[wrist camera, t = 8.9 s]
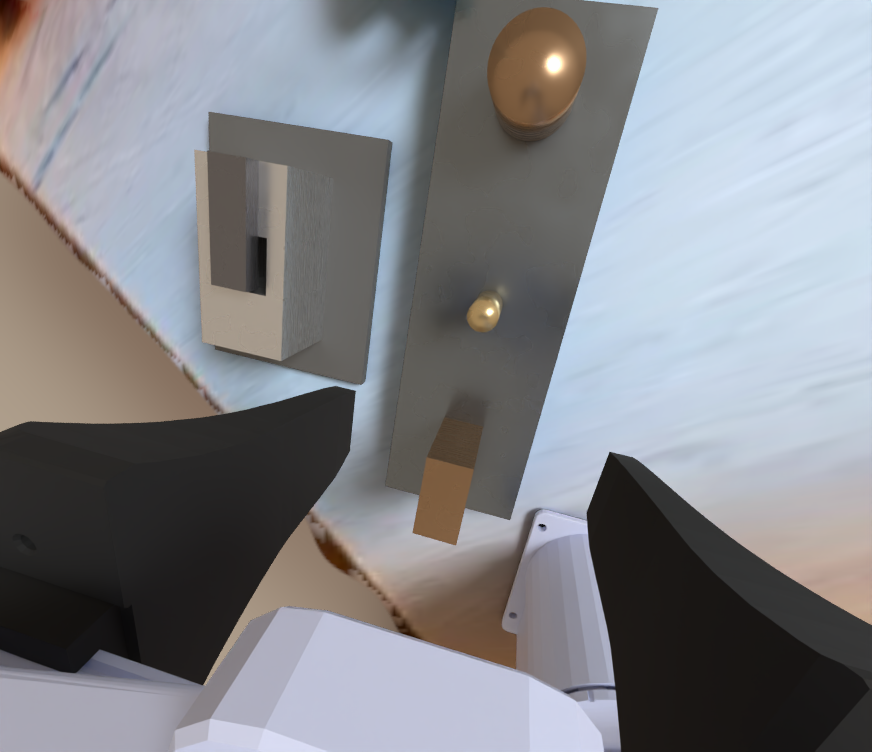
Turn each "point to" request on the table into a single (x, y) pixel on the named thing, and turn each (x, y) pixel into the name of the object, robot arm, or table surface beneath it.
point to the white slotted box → (261, 254)
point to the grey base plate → (506, 240)
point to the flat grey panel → (348, 234)
